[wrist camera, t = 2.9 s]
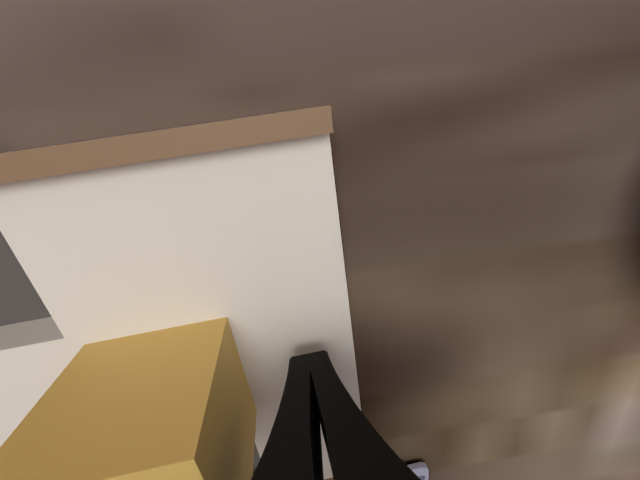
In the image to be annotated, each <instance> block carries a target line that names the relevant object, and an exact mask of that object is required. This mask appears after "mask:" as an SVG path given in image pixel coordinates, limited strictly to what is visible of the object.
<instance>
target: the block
mask: <svg viewBox="0 0 640 480" xmlns="http://www.w3.org/2000/svg"><path fill="white" fill-rule="evenodd" d="M256 414H257V410H256V407H255V404H254V401H253V398H252V394H251V391H250V388H249V385H248V382H247V378H246V375H245V372H244V369H243V366H242V363H241V359H240V356H239V353H238V350H237V347H236V344H235V340H234V337H233V334H232V331H231V328H230V324H229V321H228V318H227V317H223V318H218V319H213V320H208V321H203V322H198V323H192V324H187V325H182V326H177V327H172V328H166V329H161V330H156V331H151V332H146V333H141V334H135V335H130V336H125V337H120V338H115V339H109V340H104V341H99V342H94V343H89V344H84V346H83V347H82V348H81V349H80V351H79V352H78V353H77V354H76V355H75V357H74V358H73V359H72V360H71V362H70V363H69V364H68V365H67V366H66V368H65V369H64V370H63V371H62V373H61V374H60V375H59V376H58V377H57V379H56V380H55V381H54V382H53V383H52V385H51V386H50V387H49V388H48V390H47V391H46V392H45V393H44V394H43V396H42V397H41V398H40V399H39V401H38V402H37V403H36V404H35V405H34V407H33V408H32V409H31V410H30V412H29V413H28V414H27V415H26V416H25V418H24V419H23V420H22V421H21V423H20V424H19V425H18V426H17V427H16V429H15V430H14V431H13V432H12V434H11V435H10V436H9V437H8V438H7V440H6V441H5V442H4V443H3V445H2V446H1V447H0V480H251V478H252V476H253V464H254V447H255V431H256Z"/></svg>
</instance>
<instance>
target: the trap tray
mask: <svg viewBox="0 0 640 480" xmlns="http://www.w3.org/2000/svg"><path fill="white" fill-rule="evenodd" d="M329 133H333V123H332V114H331V105H327V106H320V107H312V108H306V109H299V110H292V111H285V112H278V113H272V114H265V115H258V116H251V117H244V118H238V119H231V120H224V121H217V122H210V123H204V124H197V125H190V126H183V127H176V128H170V129H163V130H156V131H149V132H142V133H136V134H129V135H122V136H115V137H108V138H102V139H95V140H88V141H81V142H74V143H68V144H61V145H54V146H47V147H40V148H34V149H27V150H20V151H13V152H6V153H0V447H1V446H2V445H3V443H4V442H5V441H6V440H7V438H8V437H9V436H10V435H11V434H12V432H13V431H14V430H15V429H16V427H17V426H18V425H19V424H20V423H21V421H22V420H23V419H24V418H25V416H26V415H27V414H28V413H29V412H30V410H31V409H32V408H33V407H34V405H35V404H36V403H37V402H38V401H39V399H40V398H41V397H42V396H43V394H44V393H45V392H46V391H47V390H48V388H49V387H50V386H51V385H52V383H53V382H54V381H55V380H56V379H57V377H58V376H59V375H60V374H61V373H62V371H63V370H64V369H65V368H66V366H67V365H68V364H69V363H70V362H71V360H72V359H73V358H74V357H75V355H76V354H77V353H78V352H79V351H80V349H81V348H82V347H83V346H84V344H89V343H94V342H99V341H104V340H109V339H115V338H120V337H125V336H130V335H135V334H141V333H146V332H151V331H156V330H161V329H166V328H172V327H177V326H182V325H187V324H192V323H198V322H203V321H208V320H213V319H218V318H223V317H227V318H228V321H229V324H230V328H231V331H232V334H233V337H234V340H235V344H236V347H237V350H238V353H239V356H240V359H241V363H242V366H243V369H244V372H245V375H246V378H247V382H248V385H249V388H250V391H251V394H252V398H253V401H254V404H255V407H256V410H257V414H256V431H255V447H254V464H253V470H254V469H256V468H257V465H258V463H259V461H260V458H261V456H262V453H263V451H264V448H265V446H266V443H267V441H268V438H269V435H270V433H271V430H272V427H273V424H274V421H275V418H276V415H277V412H278V409H279V405H280V402H281V398H282V395H283V391H284V387H285V383H286V378H287V373H288V367H289V359H290V358H291V357H293V356H298V355H303V354H308V353H313V352H317V351H322V350H325V351H327V352H328V355H329V358H330V360H331V363H332V365H333V367H334V369H335V371H336V373H337V375H338V376H339V378H340V380H341V382H342V383H343V385H344V387H345V388H346V390H347V391H348V393H349V394H350V396H351V398H352V399H353V401H354V402H355V403H356V405H357V406H358V408H359V409H360V410H361V404H360V395H359V387H358V378H357V370H356V361H355V352H354V344H353V335H352V327H351V318H350V309H349V301H348V292H347V283H346V275H345V266H344V258H343V249H342V240H341V232H340V223H339V214H338V206H337V197H336V189H335V180H334V171H333V163H332V154H331V146H330V137H329ZM320 429H321V445H322V460H323V476H324V480H333V474H332V470H331V465H330V461H329V457H328V453H327V449H326V445H325V441H324V436H323V432H322V428H321V424H320Z"/></svg>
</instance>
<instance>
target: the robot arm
mask: <svg viewBox="0 0 640 480" xmlns="http://www.w3.org/2000/svg"><path fill="white" fill-rule="evenodd" d="M320 424H321V428H322V432H323V436H324V441H325V445H326V449H327V453H328V457H329V461H330V465H331V470H332V474H333V480H429V470H428V467H427V465H426V464H425V463H424V462H417V463H413V464H409V465H406V464H405V463H404V462H403V461H402V460H401V459H400V458H399V457H398V456H397V455H396V453H395V452H394V451H393V450H392V449H391V448H390V447H389V446H388V444H387V443H386V442H385V441H384V440H383V439H382V437H381V436H380V435H379V434H378V433H377V431H376V430H375V429H374V428H373V426H372V425H371V424H370V423H369V421H368V420H367V419H366V417H365V416H364V415H363V413H362V412H361V410H360V409H359V408H358V406H357V405H356V403H355V402H354V401H353V399H352V398H351V396H350V394H349V393H348V391H347V390H346V388H345V387H344V385H343V383H342V382H341V380H340V378H339V376H338V375H337V373H336V371H335V369H334V367H333V365H332V363H331V360H330V358H329V355H328V352H327V351H325V350H322V351H317V352H313V353H308V354H303V355H298V356H293V357H291V358H290V359H289V367H288V373H287V378H286V383H285V387H284V391H283V395H282V398H281V402H280V405H279V409H278V412H277V415H276V418H275V421H274V424H273V427H272V430H271V433H270V435H269V438H268V441H267V443H266V446H265V448H264V451H263V453H262V456H261V458H260V461H259V463H258V465H257V468H256V470H255V472H254V474H253V476H252V478H251V480H324V476H323V460H322V445H321V429H320Z"/></svg>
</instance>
